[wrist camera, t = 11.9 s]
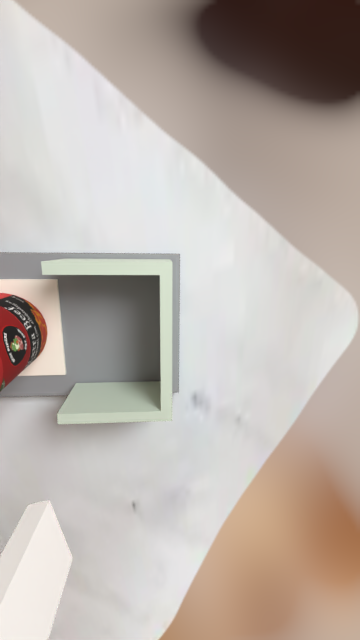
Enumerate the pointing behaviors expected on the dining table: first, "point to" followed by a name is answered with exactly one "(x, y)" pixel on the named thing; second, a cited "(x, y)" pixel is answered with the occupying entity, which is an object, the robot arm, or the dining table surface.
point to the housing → (122, 397)
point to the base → (91, 323)
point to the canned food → (19, 336)
